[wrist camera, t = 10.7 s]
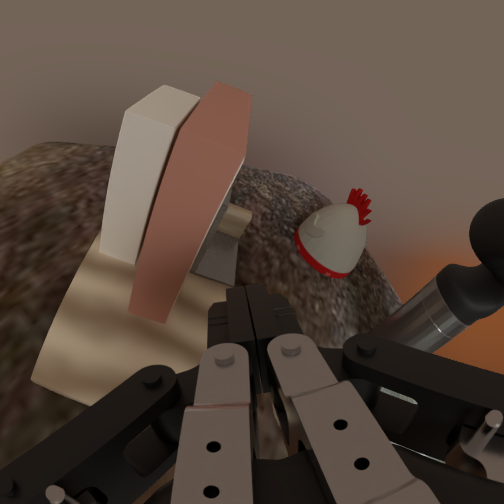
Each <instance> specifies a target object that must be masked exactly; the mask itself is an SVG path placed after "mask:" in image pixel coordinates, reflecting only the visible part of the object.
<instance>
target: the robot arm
mask: <svg viewBox="0 0 504 504" xmlns="http://www.w3.org/2000/svg"><path fill="white" fill-rule="evenodd" d="M469 237H470V243H471V246H472V249H473V250H474V252H475V254H476V256H477V257H478V258H479V260H480V261H481V262H482V264H480V265H478V266H475V267H465V266H461V265H457V264H449V265H447V266H446V267H445V268H443V269H442V270H441V271H440V272H439V273H438V274H437V275H436V276H435V277H434V278H433V279H432V280H431V281H430V282H428V283H427V284H426V285H425V286H424V287H423V288H422V289H421V290H420V291H419V292H417V293H416V294H415V295H414V296H413V297H412V298H411V299H409V300H408V301H407V302H406V303H405V304H403V305H402V306H401V307H400V308H399V309H397V310H396V311H395V312H394V313H393V314H391V315H390V316H389V317H388V318H386V319H385V320H384V321H383V322H381V323H380V324H379V325H377V326H376V327H375V328H374V329H372V330H371V331H370V332H368V333H367V334H359V335H355V336H353V337H351V338H349V339H348V340H346V342H345V343H344V345H343V349H332V348H321V347H317V346H316V345H315V344H314V342H313V341H312V340H311V339H310V338H309V337H307V336H305V335H303V332H302V330H301V328H300V326H299V324H298V321H297V319H296V317H295V315H294V313H293V310H292V308H291V306H290V304H289V302H288V299H287V298H285V297H284V296H282V295H281V294H272V295H268V293H267V291H266V288H265V285H264V283H262V284H255V285H248V286H245V287H246V294H245V289H244V286H241V287H234V288H226V301H223V302H215V303H213V304H212V306H211V307H210V308H209V310H208V329H207V350H206V351H205V352H204V353H203V354H202V356H201V360H200V364H199V365H197V366H196V367H194V368H192V369H190V370H187V371H184V372H181V373H177V374H176V373H175V371H174V370H173V369H172V368H170V367H168V366H166V365H159V364H158V365H150V366H147V367H144V368H142V369H140V370H139V371H137V372H136V373H134V374H133V375H132V376H130V377H129V378H128V379H127V380H125V381H124V382H123V383H121V384H120V385H119V386H117V387H116V388H115V389H113V390H112V391H110V392H109V393H108V394H106V395H105V396H104V397H102V398H101V399H100V400H98V401H97V402H96V403H94V404H93V405H92V406H90V407H89V408H87V409H86V410H85V411H83V412H82V413H81V414H79V415H78V416H77V417H75V418H74V419H72V420H71V421H70V422H68V423H67V424H65V425H64V426H63V427H61V428H60V429H59V430H57V431H56V432H54V433H53V434H51V435H50V436H49V437H47V438H46V439H44V440H43V441H42V442H40V443H39V444H37V445H36V446H35V447H33V448H32V449H30V450H29V451H27V452H26V453H24V454H23V455H22V456H20V457H19V458H17V459H16V460H14V461H13V462H11V463H10V464H8V465H7V466H6V467H4V468H3V469H1V470H0V504H132V503H133V502H134V501H135V500H136V499H138V498H139V497H140V496H141V495H142V494H143V493H144V492H145V491H147V490H148V489H149V488H150V487H151V486H152V485H153V484H154V483H155V482H156V481H157V480H158V479H159V478H161V477H162V476H163V475H164V474H165V473H166V472H167V471H168V470H169V469H170V468H171V467H172V466H173V465H174V464H175V463H176V468H175V474H174V479H173V480H171V481H169V482H168V483H166V484H165V485H163V486H162V487H161V488H159V489H158V490H157V491H156V492H155V493H154V494H153V495H152V496H151V497H150V498H149V499H148V500H147V501H146V502H145V503H144V504H504V375H502V374H499V373H495V372H492V371H488V370H485V369H481V368H478V367H474V366H471V365H467V364H464V363H461V362H457V361H454V360H451V359H448V358H444V357H441V356H438V355H434V354H432V353H433V352H434V351H436V350H438V349H439V348H440V347H442V346H443V345H445V344H446V343H448V342H449V341H450V340H452V339H453V338H454V337H456V336H457V335H458V334H460V333H461V332H462V331H464V330H465V329H466V328H468V327H469V326H470V325H471V324H473V323H474V322H475V321H477V320H479V319H482V318H485V317H488V316H490V315H492V314H493V313H495V312H496V311H497V310H498V309H500V308H501V307H502V306H504V198H503V199H498V200H495V201H492V202H490V203H488V204H487V205H485V206H484V207H482V208H481V209H480V210H479V211H478V212H477V214H476V215H475V216H474V218H473V220H472V222H471V225H470V230H469ZM246 296H247V299H246ZM258 368H259V369H258ZM259 373H260V377H259ZM260 378H261V383H262V388H263V393H266V392H270V393H271V397H272V405H273V412H274V414H275V417H276V420H277V423H278V426H279V429H280V432H281V435H282V438H283V441H284V443H285V446H286V449H287V452H288V456H289V457H287V458H284V459H280V460H267V459H260V448H259V433H258V419H257V410H256V409H257V406H258V402H257V395H256V394H261V385H260ZM381 387H384V388H386V389H389V390H392V391H394V392H397V393H400V394H402V395H405V396H408V397H410V398H412V399H414V400H415V401H416V402H417V403H418V404H413V403H410V402H407V401H404V400H402V399H399V398H397V397H394V396H391V395H389V394H386V393H384V392H381V391H380V389H381ZM149 425H151V426H150V427H149V428H148V429H147V430H145V431H144V432H143V433H142V434H141V435H140V436H138V437H137V438H136V439H135V440H134V441H133V442H131V443H130V444H129V445H128V446H127V447H126V448H125V446H126V445H127V444H128V443H129V442H130V441H132V440H133V439H134V438H135V437H136V436H137V435H139V434H140V433H141V432H142V431H143V430H144V429H146V428H147V427H148V426H149ZM390 441H391V442H394V443H396V444H399V445H401V446H399V445H395V444H391V442H390ZM402 446H404V447H406V448H404V447H402ZM407 448H409V449H411V450H414V451H417V452H419V453H422V454H425V455H427V456H430V457H433V458H436V459H439V460H442V461H445V463H446V464H444V463H441V462H438V461H436V460H433V459H431V458H428V457H426V456H423V455H421V454H418V453H416V452H414V451H411V450H409V449H407Z"/></svg>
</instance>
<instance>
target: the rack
mask: <svg viewBox="0 0 504 504" xmlns="http://www.w3.org/2000/svg"><path fill="white" fill-rule="evenodd" d="M251 218H252V212H251V211H249V210H246V209H244V208H241V207H239V206H236V205H234V204H231V203H229V207H228V209H227V211H226V213H225V215H224V216H223V218H222V220H221V222H220V224H219V226H218V228H217V230H218V231H221V232H224V233H226V234H229V235H232V236H234V237H237V238H240V237H241V235H242V233H243V232H244V230H245V228H246V227H247V225H248V223H249V222H250V220H251ZM101 231H102V229H101V230H100V232H99V234H98V235H97V237H96V239H95V241H94V242H93V244H92V246H91V247H90V249H89V251H88V253H87V255H86V256H85V258H84V260H83V262H82V264H81V266H80V267H79V269H78V271H77V273H76V275H75V277H74V279H73V281H72V283H71V285H70V287H69V289H68V291H67V293H66V295H65V297H64V299H63V301H62V303H61V305H60V307H59V310H58V312H57V314H56V316H55V318H54V321H53V323H52V325H51V327H50V330H49V332H48V335H47V337H46V339H45V342H44V344H43V347H42V349H41V352H40V354H39V357H38V360H37V362H36V365H35V368H34V371H33V374H32V376H31V380H32V381H33V382H34V383H36V384H39V385H41V386H43V387H45V388H47V389H49V390H51V391H54V392H56V393H58V394H61V395H63V396H65V397H68V398H70V399H73V400H75V401H78V402H80V403H83V404H85V405H88V406H92V405H93V404H94V403H96V402H97V401H98V400H100V399H101V398H102V397H104V396H105V395H106V394H108V393H109V392H110V391H112V390H113V389H115V388H116V387H117V386H119V385H120V384H121V383H123V382H124V381H125V380H127V379H128V378H129V377H130V376H132V375H133V374H134V373H136V372H137V371H139V370H140V369H142V368H144V367H147V366H150V365H158V364H159V365H166V366H168V367H170V368H172V369H173V370H174V371H175V373H176V374H177V373H181V372H184V371H187V370H190V369H192V368H194V367H196V366H197V365H199V364H200V360H201V356H202V354H203V353H204V352H205V351H206V350H207V329H208V310H209V308H210V307H211V306H212V304H213V303H215V302H223V301H226V288H234V287H230V286H227V285H224V284H221V283H218V282H215V281H212V280H209V279H206V278H203V277H200V276H198V275H195V274H192V273H188V275H187V277H186V280H185V282H184V284H183V286H182V288H181V291H180V293H179V295H178V297H177V299H176V302H175V304H174V306H173V308H172V311H171V313H170V315H169V317H168V319H167V320H166V322H165V324H162V323H159V322H156V321H153V320H150V319H147V318H144V317H141V316H138V315H135V314H132V313H129V312H128V307H129V302H130V297H131V292H132V288H133V284H134V279H135V275H136V271H137V267H138V262H139V258H140V255H141V252H140V254H139V256H138V259H137V261H136V263H135V264H134V265H133V264H130V263H127V262H125V261H122V260H119V259H117V258H114V257H111V256H109V255H106V254H104V253H101V252H99V249H100V239H101ZM141 251H142V249H141ZM189 272H190V271H189Z"/></svg>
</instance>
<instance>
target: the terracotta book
mask: <svg viewBox="0 0 504 504" xmlns="http://www.w3.org/2000/svg"><path fill="white" fill-rule="evenodd" d="M251 102H252V95H251V94H248V93H246V92H244V91H241V90H239V89H236V88H234V87H232V86H229V85H227V84H224V83H222V82H219V81H217V82H216V83H215V84H214V86H213V87H212V88H211V89H210V91H209V92H208V93H207V94H206V96H205V97H204V98H203V99H202V101H201V102H200V103H199V105H198V106H197V107H196V108H195V110H194V111H193V112H192V114H191V115H190V116H189V118H188V119H187V121H186V122H185V123H184V125H183V126H182V127H181V129H180V132H179V134H178V137H177V140H176V142H175V145H174V148H173V150H172V153H171V156H170V159H169V162H168V165H167V168H166V170H165V173H164V176H163V179H162V182H161V185H160V189H159V192H158V195H157V198H156V201H155V205H154V208H153V211H152V215H151V218H150V221H149V225H148V228H147V232H146V236H145V239H144V243H143V247H142V251H141V255H140V258H139V262H138V267H137V271H136V275H135V279H134V284H133V288H132V292H131V297H130V302H129V307H128V312H129V313H132V314H135V315H138V316H141V317H144V318H147V319H150V320H153V321H156V322H159V323H162V324H165V322H166V320H167V319H168V317H169V315H170V313H171V311H172V308H173V306H174V304H175V302H176V299H177V297H178V295H179V293H180V291H181V288H182V286H183V284H184V282H185V280H186V277H187V275H188V273H189V271H190V269H191V267H192V265H193V262H194V260H195V258H196V256H197V254H198V252H199V250H200V248H201V245H202V243H203V241H204V239H205V237H206V235H207V233H208V231H209V229H210V227H211V225H212V223H213V221H214V219H215V217H216V215H217V213H218V211H219V209H220V207H221V205H222V203H223V201H224V199H225V197H226V195H227V193H228V191H229V189H230V187H231V185H232V183H233V181H234V179H235V177H236V175H237V173H238V171H239V169H240V168H241V166H242V164H243V161H244V158H245V155H246V148H247V138H248V129H249V120H250V111H251Z"/></svg>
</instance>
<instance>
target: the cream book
mask: <svg viewBox="0 0 504 504" xmlns="http://www.w3.org/2000/svg"><path fill="white" fill-rule="evenodd" d="M199 101H200V97H198V96H195V95H193V94H190V93H187V92H184V91H181V90H179V89H176V88H173V87H170V86H167V85H163V86H161V87H160V88H158V89H157V90H155V91H154V92H152V93H150V94H149V95H147V96H146V97H144V98H143V99H142V100H140V101H139V102H137V103H136V104H134V105H133V106H131V107H130V108H129V109H127V110H126V111H125V115H124V119H123V122H122V126H121V130H120V134H119V138H118V142H117V146H116V150H115V155H114V159H113V164H112V169H111V174H110V179H109V185H108V190H107V196H106V202H105V209H104V216H103V223H102V231H101V239H100V249H99V252H101V253H104V254H106V255H109V256H111V257H114V258H117V259H119V260H122V261H125V262H127V263H130V264H133V265H134V264H135V263H136V261H137V259H138V256H139V254H140V252H141V249H142V247H143V243H144V239H145V236H146V232H147V228H148V225H149V221H150V218H151V215H152V211H153V208H154V205H155V201H156V198H157V195H158V192H159V189H160V185H161V182H162V179H163V176H164V173H165V170H166V168H167V165H168V162H169V159H170V156H171V153H172V150H173V148H174V145H175V142H176V140H177V137H178V134H179V132H180V129H181V127H182V126H183V125H184V123H185V122H186V121H187V119H188V118H189V116H190V115H191V114H192V112H193V111H194V110H195V108H196V107H197V106H198V104H199Z"/></svg>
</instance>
